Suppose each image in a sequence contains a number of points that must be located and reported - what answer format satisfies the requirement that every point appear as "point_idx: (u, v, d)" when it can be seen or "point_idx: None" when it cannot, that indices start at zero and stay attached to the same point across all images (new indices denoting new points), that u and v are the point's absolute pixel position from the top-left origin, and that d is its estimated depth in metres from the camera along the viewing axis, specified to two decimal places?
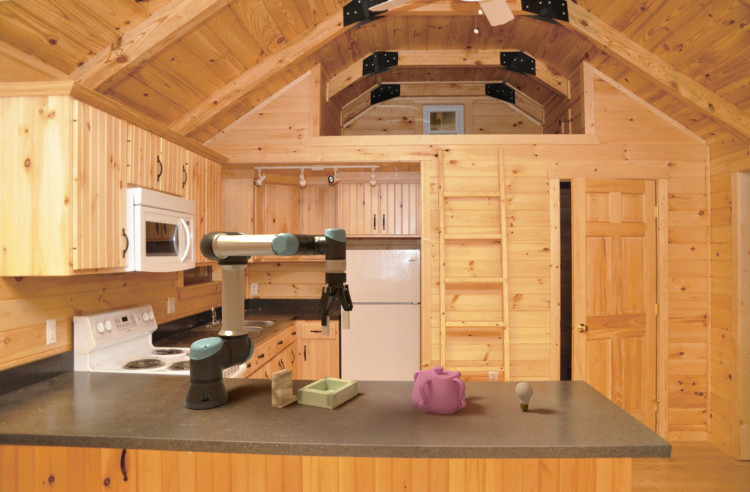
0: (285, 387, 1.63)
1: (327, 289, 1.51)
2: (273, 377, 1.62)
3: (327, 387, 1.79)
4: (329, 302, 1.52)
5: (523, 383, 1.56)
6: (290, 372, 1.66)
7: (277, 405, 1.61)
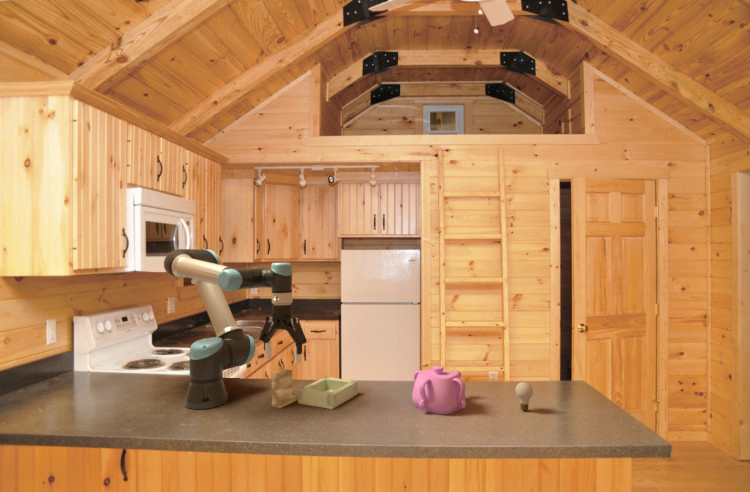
0: (285, 387, 1.63)
1: None
2: (273, 377, 1.62)
3: (327, 387, 1.79)
4: None
5: (523, 383, 1.56)
6: (290, 372, 1.66)
7: (277, 405, 1.61)
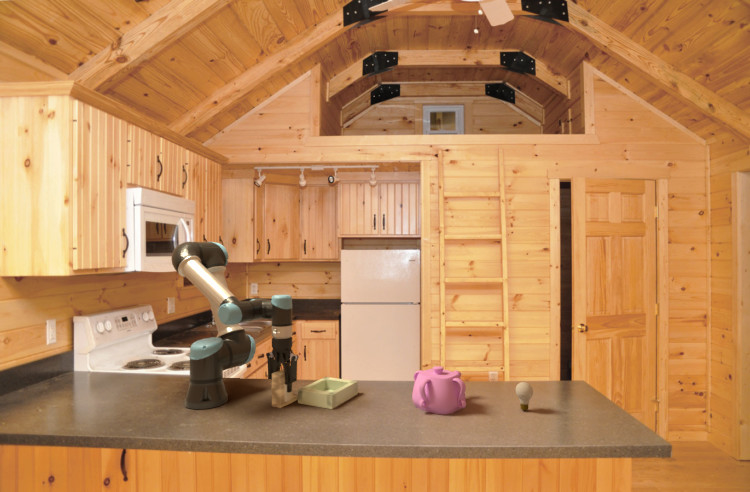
0: None
1: None
2: (273, 377, 1.62)
3: (327, 387, 1.79)
4: None
5: (523, 383, 1.56)
6: None
7: (277, 405, 1.61)
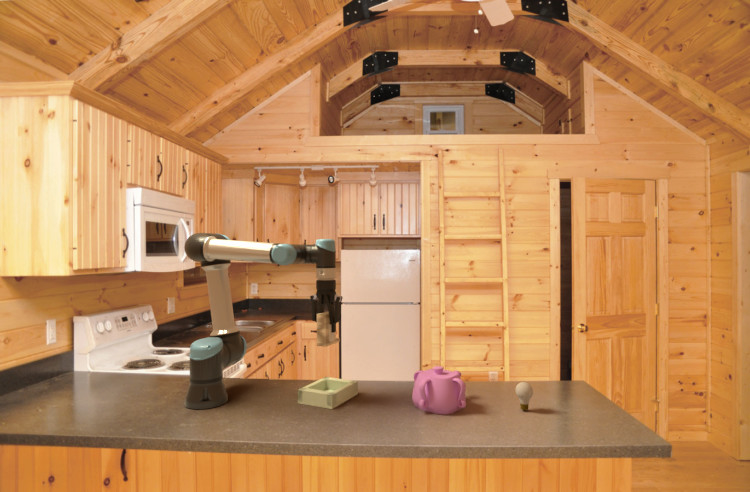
0: None
1: None
2: (318, 317, 1.67)
3: (327, 387, 1.79)
4: None
5: (523, 383, 1.56)
6: None
7: (322, 344, 1.66)
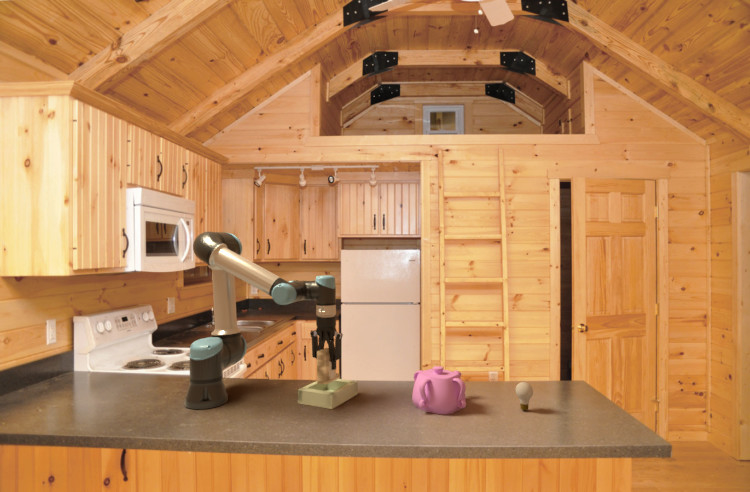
0: None
1: None
2: (318, 355, 1.67)
3: (327, 387, 1.79)
4: None
5: (523, 383, 1.56)
6: None
7: (322, 382, 1.66)
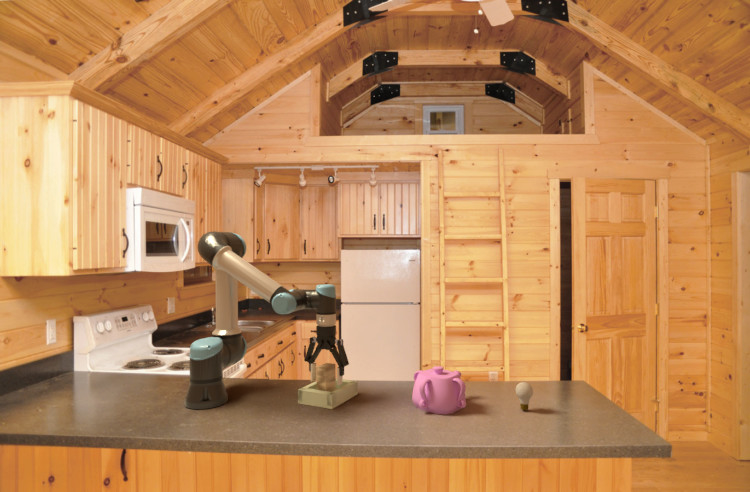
0: (329, 380, 1.68)
1: None
2: (318, 370, 1.67)
3: None
4: None
5: (523, 383, 1.56)
6: (333, 366, 1.71)
7: None
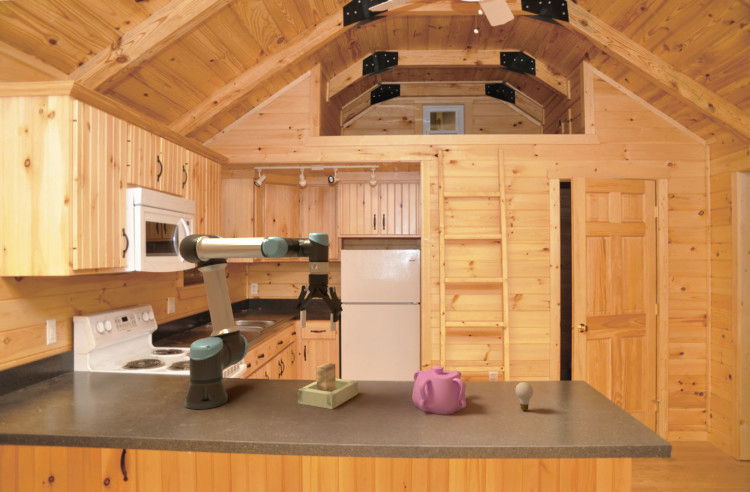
0: (329, 380, 1.68)
1: None
2: (318, 370, 1.67)
3: None
4: None
5: (523, 383, 1.56)
6: (333, 366, 1.71)
7: None
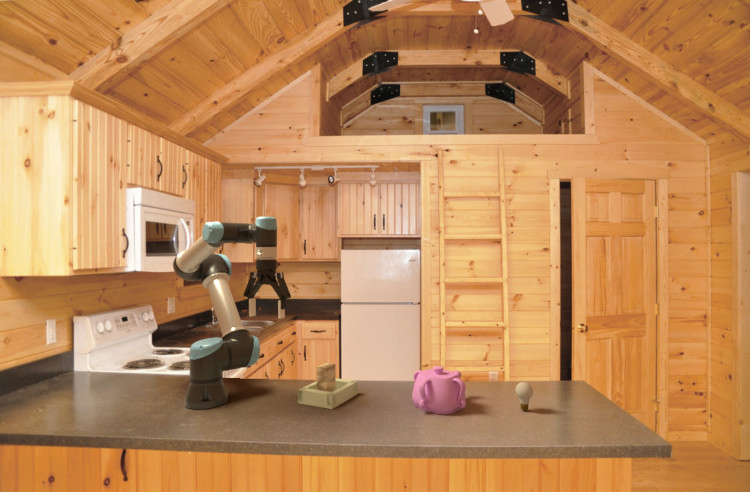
0: (329, 380, 1.68)
1: None
2: (318, 370, 1.67)
3: None
4: None
5: (523, 383, 1.56)
6: (333, 366, 1.71)
7: None
